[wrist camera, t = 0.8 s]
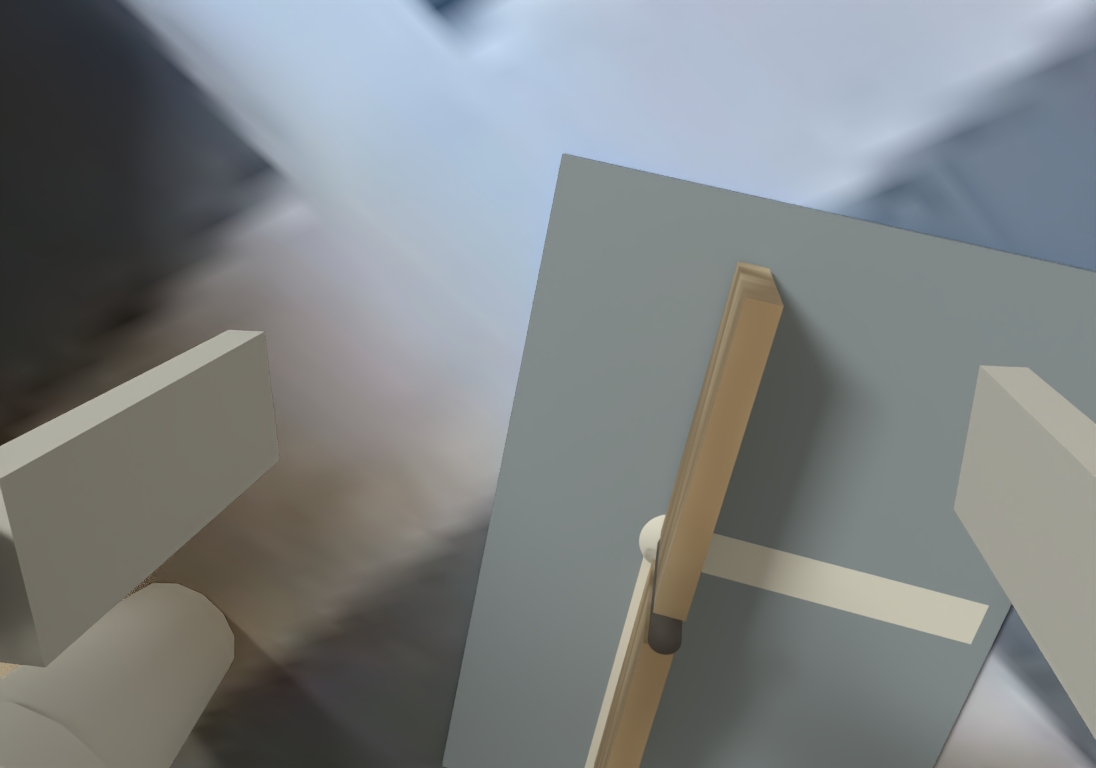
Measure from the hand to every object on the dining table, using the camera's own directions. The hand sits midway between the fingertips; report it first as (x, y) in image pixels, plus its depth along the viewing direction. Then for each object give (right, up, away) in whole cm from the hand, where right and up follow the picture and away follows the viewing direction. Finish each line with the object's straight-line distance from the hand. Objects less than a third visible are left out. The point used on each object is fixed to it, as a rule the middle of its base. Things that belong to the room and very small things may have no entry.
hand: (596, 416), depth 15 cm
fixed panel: (+3, -13, +23) cm, 27 cm away
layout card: (+7, -7, +21) cm, 23 cm away
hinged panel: (+6, -1, +18) cm, 19 cm away
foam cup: (-20, -12, +28) cm, 37 cm away
